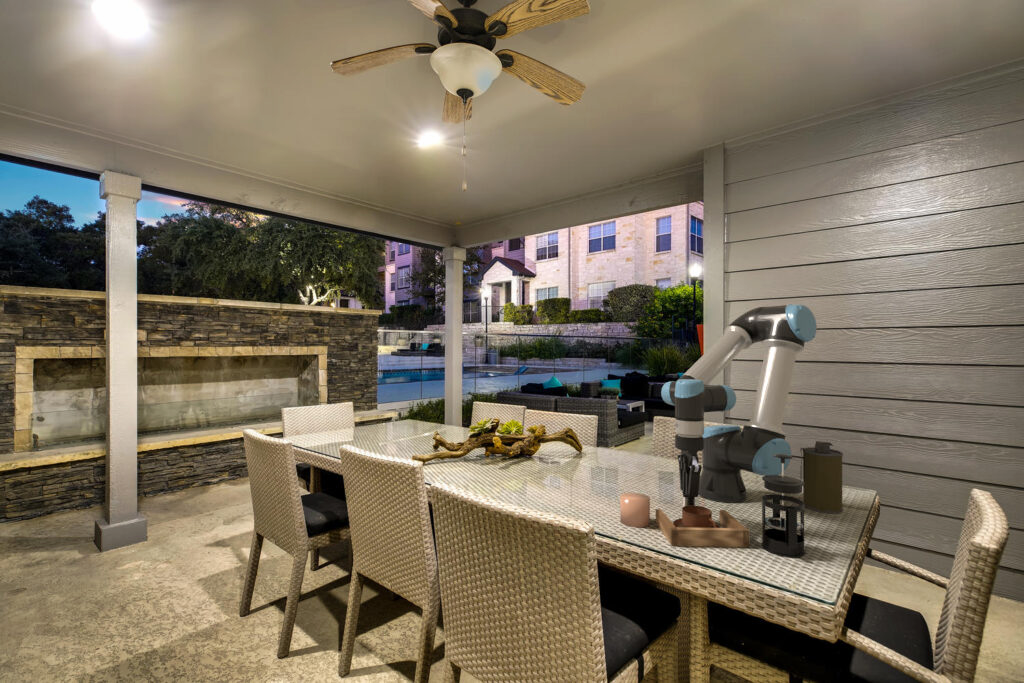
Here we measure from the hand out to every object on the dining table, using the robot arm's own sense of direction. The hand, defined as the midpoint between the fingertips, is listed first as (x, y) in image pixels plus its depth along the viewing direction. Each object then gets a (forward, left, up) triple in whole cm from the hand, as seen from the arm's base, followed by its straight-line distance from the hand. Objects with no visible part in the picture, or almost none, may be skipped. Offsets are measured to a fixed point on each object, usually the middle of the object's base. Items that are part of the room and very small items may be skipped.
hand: (688, 519), depth 133 cm
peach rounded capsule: (+15, 0, -1) cm, 15 cm away
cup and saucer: (0, +7, -1) cm, 7 cm away
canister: (-45, -14, -1) cm, 47 cm away
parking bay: (0, +8, -1) cm, 8 cm away
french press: (-17, +17, -1) cm, 24 cm away
